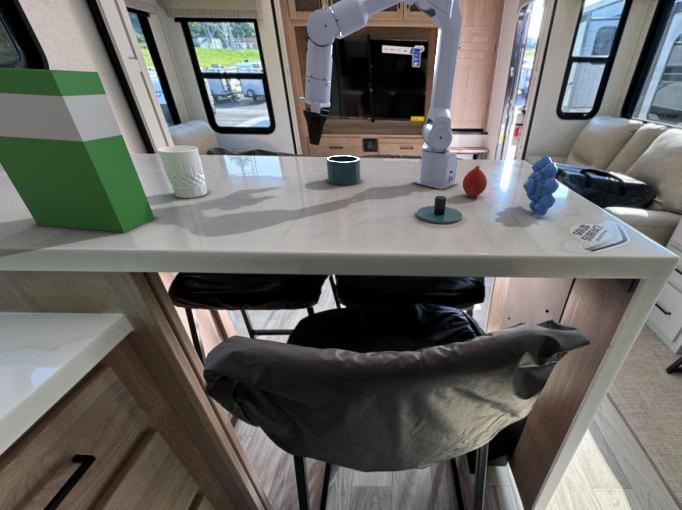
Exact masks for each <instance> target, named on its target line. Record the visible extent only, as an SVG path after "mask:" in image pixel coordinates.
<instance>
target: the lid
mask: <svg viewBox="0 0 682 510" xmlns="http://www.w3.org/2000/svg"><path fill="white" fill-rule="evenodd" d="M415 216H416V217H417V218H418V219H419V220H421V221H423V222H426V223H430V224H436V225H451V224H456V223H457V222H458V223H459V222H461V221H462V219H463V214H462V212H461V211H460V210H458V209H455V208H453V207H449V206H447V197H446V196H444V195H436V196H434V204H433V205H429V206H428V205H427V206H422V207H420V208H418V209H417V210H416V212H415Z"/></svg>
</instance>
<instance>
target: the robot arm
mask: <svg viewBox="0 0 682 510" xmlns="http://www.w3.org/2000/svg"><path fill="white" fill-rule="evenodd" d="M400 3H403V4H405V5H407V6H408V5H409V6H411V7H412V6H413V5H415V6H416V7H417V8H418V9H419V10H420V11H421V12H422V13H423V14H425V15H426V16H428V17H430V19H431V21H432V22H433V24H434V25H435V26H436V27H437V29H438V34H437V43H436V53H435V60H434V70H433V71H434V72H433V79H432V87H431V96H430V106H429V109H428V112H427V115H426V119H425V120H426V121H425V123H424V125H423V126H422V130H421V137H422V140H423V141H424V143H423V146H422V147H421V157H420V158H421V159H420V160H421V161H420V176H419V179H415V180H414V181H413V184H417V185H421V186H426V187H429V188H435V189H438V190H444V189H446V188H450V187H452V186H454V185H456V184H457V182H456V175H457V168H458V156H457V154H456V153H454V152H452V151H450V145H451V144H452V141H453V136H454V135H453V129H452V116H451V115H452V114H451V103H452V96H453V89H454V82H455V75H456V69H457V60H458V55H459V54H458V53H459V47H460V40H461V33H462V26H463V15H462V11H461V7H460V4H459V1H458V0H340V1H339V0H338V1H337V2H335V3H334V4H331V5H330V6H328V5H327V4H324V5H323V6H322V9H315V10H314V12H312V13H311V14H310V15H309V16H308V18H307V21H306V32H307V35H308V37H309V38H308V39H307V45H306V47H307V51H306V58H305V59H306V62H305V63H306V64H305V92H304V97H303V96H300V97H299V101H301V102H304V103H306V104H308V105H309V106H310V107H306V109H303V110H302V113H303V116H304V118H305V119H304V120H305V121H306V126H307V131H308V132H307V133H308V142H309V144H310V145H313V146H319V145H320V142H321V139H322V136H323V131H324V126H325V124H326V121H327V119H328V118H329V114H330V110H328V109H324V108H330V107H331V88H332V74H333V73H332V72H333V57H332V55H333V43H334V42H335V40H336V39H339V40H342V39H344V38H345V37H348V36H349V35H351V34H354V33H356V32H358V31H360V30H361V29H364V28H365V27H366V26H367V24H368V19H369V17H371V16H373V15H376V14H377V13H379V12H382V11H384V10H386V9H388V8H391V7H393V6H395V5H397V4H400Z"/></svg>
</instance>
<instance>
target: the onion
mask: <svg viewBox="0 0 682 510" xmlns="http://www.w3.org/2000/svg"><path fill="white" fill-rule="evenodd" d="M487 184H488V179H487V176H486V174H485V173H484V172H483V170H481V168H480V165H476V166H475V167H473V168H472V169H470V170H469V171H468V172H467V173H466V175H465V176H464V177H463V179H462V188H463V190H464V192H465V193H466V194H467V196H468V197H469V198H477V197H479V196H480V195H481V194H482V193H484V191H485V190H486V188H487Z"/></svg>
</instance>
